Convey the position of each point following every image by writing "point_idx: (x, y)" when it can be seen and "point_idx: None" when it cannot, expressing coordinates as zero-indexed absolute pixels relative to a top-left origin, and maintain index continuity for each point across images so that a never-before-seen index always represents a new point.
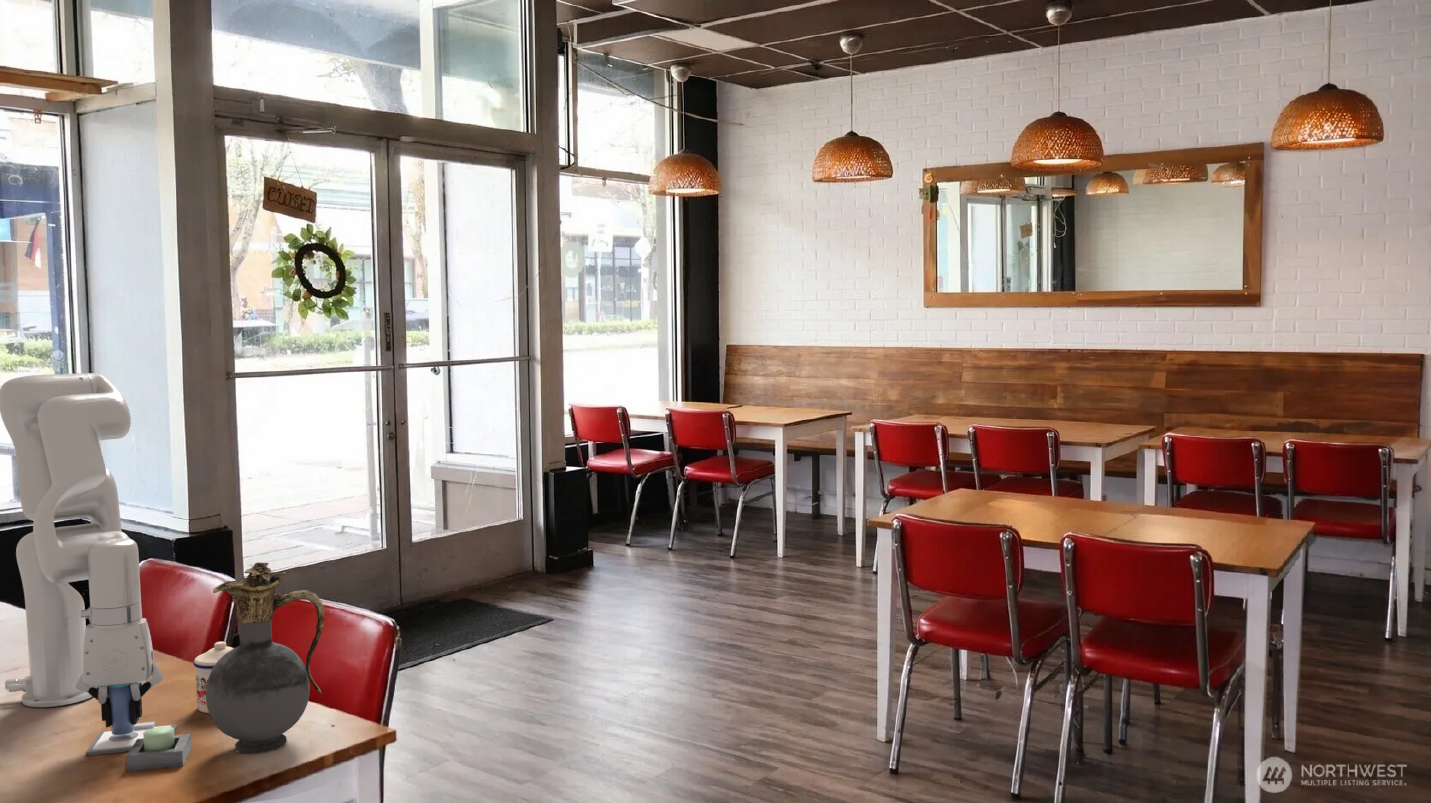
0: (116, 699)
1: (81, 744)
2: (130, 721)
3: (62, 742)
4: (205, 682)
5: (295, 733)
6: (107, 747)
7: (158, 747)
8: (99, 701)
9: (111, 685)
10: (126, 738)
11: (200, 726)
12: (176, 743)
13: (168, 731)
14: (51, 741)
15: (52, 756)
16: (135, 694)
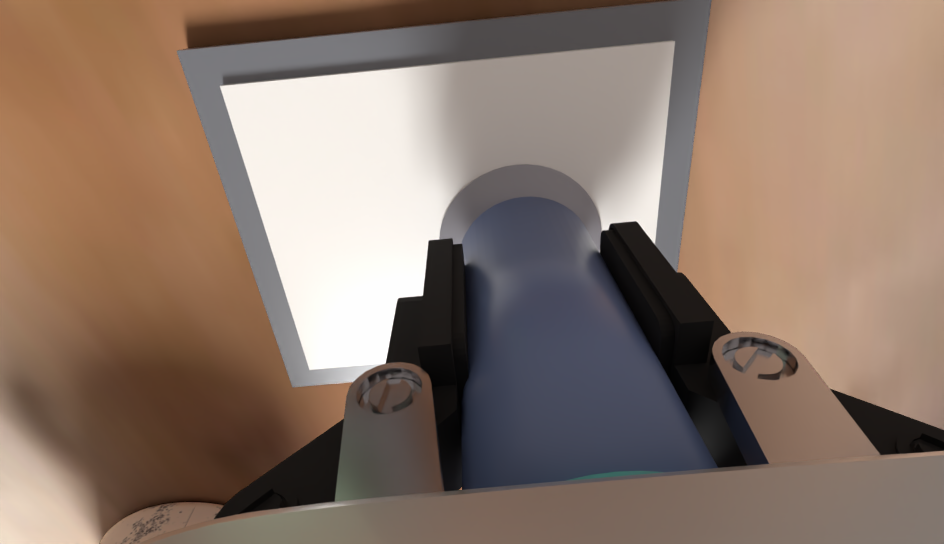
0: (600, 355)
1: (743, 229)
2: (468, 266)
3: (840, 279)
4: None
5: None
6: (576, 56)
7: None
8: (779, 356)
9: (737, 468)
10: (492, 205)
11: (177, 371)
12: None
13: None
14: (892, 304)
15: (907, 46)
16: (396, 414)
